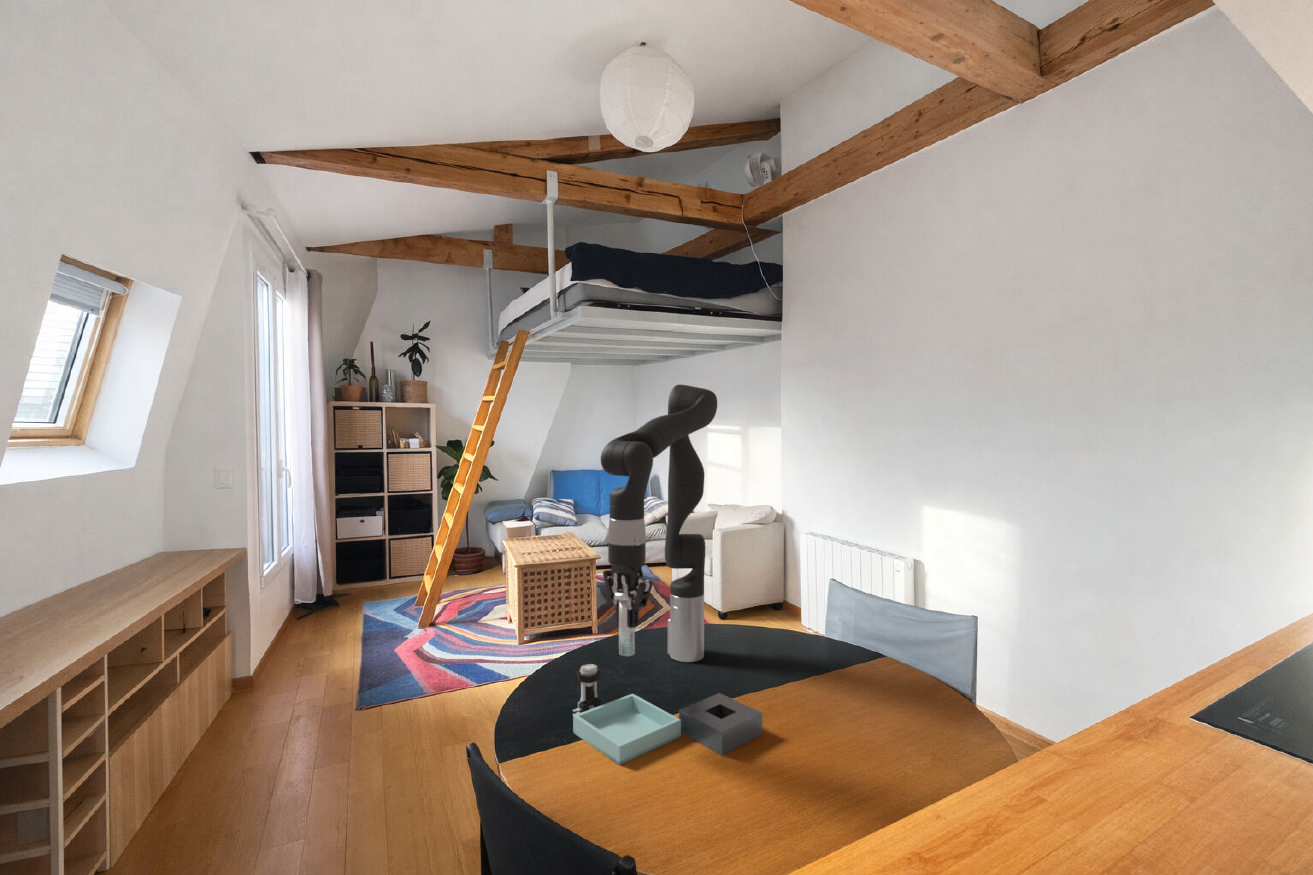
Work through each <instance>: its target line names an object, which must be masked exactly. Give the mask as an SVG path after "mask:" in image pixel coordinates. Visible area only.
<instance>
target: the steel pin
mask: <svg viewBox="0 0 1313 875" xmlns="http://www.w3.org/2000/svg"><path fill="white" fill-rule="evenodd" d="M633 592H635V591H631V592H630V593H633ZM613 593H614V598H615V599H617V600H619V623H618V654H619V656H622V657H632V656H634V655H635V654H636V652H635V651H636V650H635V649H636V645H635V644H636V642H635V641H636V639H635V638H636V634H635V632H636V629H635V628H636V627H634V628H629V627H628V626H627V609H628V605H627V601H629V598H627V597H626V596H625V595H624V591H620V592H613ZM634 600H635V597H633V598H632V601H633V603H634Z"/></svg>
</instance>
